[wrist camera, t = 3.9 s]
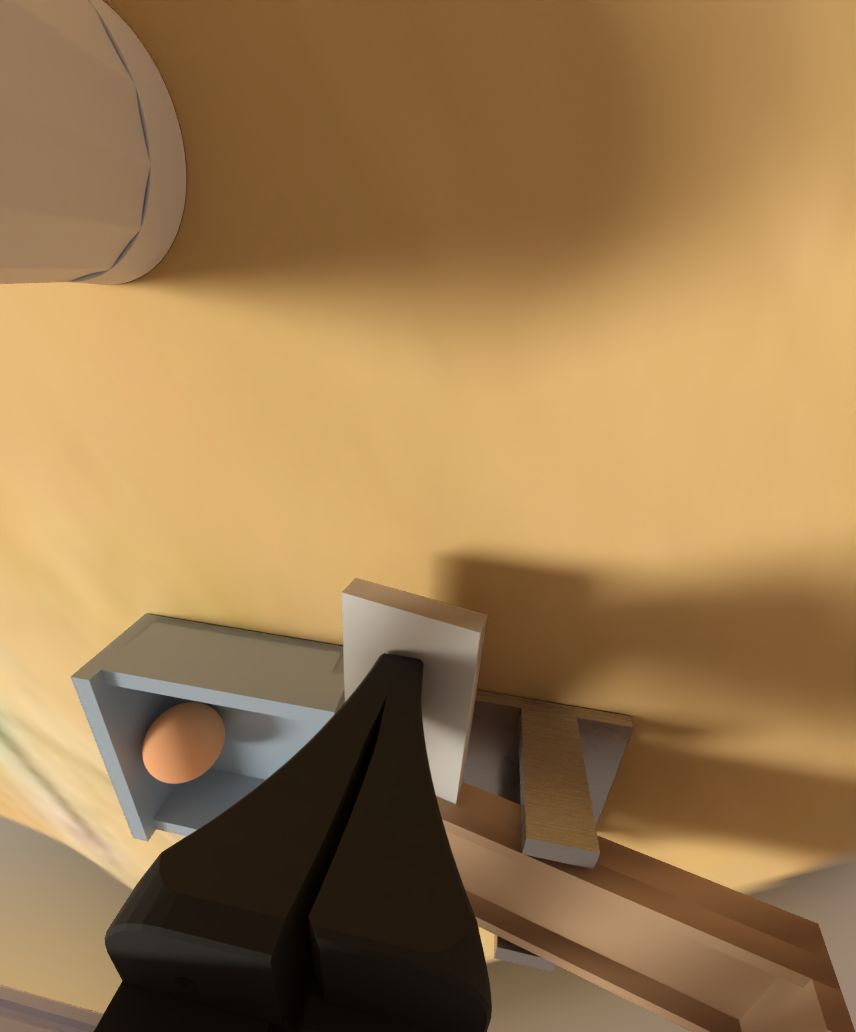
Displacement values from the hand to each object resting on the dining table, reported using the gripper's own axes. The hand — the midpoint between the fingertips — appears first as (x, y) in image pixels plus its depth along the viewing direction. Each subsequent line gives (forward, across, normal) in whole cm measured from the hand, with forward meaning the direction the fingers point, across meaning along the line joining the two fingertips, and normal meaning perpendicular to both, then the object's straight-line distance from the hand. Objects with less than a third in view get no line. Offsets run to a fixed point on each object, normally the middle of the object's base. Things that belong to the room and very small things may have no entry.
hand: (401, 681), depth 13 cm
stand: (+3, -5, +7) cm, 9 cm away
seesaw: (0, -5, +4) cm, 6 cm away
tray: (+3, +7, +7) cm, 10 cm away
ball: (+2, +9, +7) cm, 12 cm away
